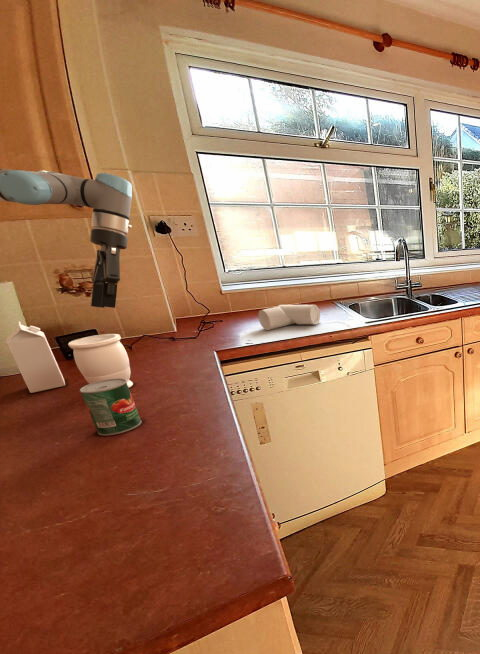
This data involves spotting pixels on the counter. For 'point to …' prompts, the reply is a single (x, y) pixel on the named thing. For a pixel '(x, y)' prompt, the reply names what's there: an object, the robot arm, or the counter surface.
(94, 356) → the jar
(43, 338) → the milk carton
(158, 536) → the counter surface
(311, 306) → the l-shaped cylinder
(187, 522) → the counter surface
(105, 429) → the canned tomato
